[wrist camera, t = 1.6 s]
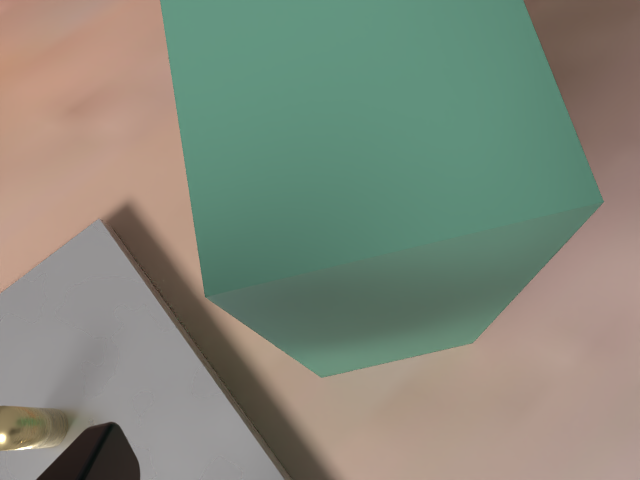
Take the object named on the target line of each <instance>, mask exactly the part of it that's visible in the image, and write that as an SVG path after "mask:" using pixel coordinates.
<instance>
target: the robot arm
mask: <svg viewBox="0 0 640 480" xmlns="http://www.w3.org/2000/svg"><path fill="white" fill-rule="evenodd" d="M36 480H140V465H139V462H138V459H137V457H136V455H135V453H134V451H133V449H132V447H131V445H130V444H129V442H128V440H127V438H126V436H125V434H124V432H123V430H122V429H121V427H120V426H119V425H118V424H117V423H115V422H107V423H102V424H98V425H94V426H90V427H88V428H86V429H85V430H84V431H83V432H82V433H81V434H80V435H79V436H78V437H77V438H76V439H75V440H74V441H73V442H72V443H71V444H70V445H69V446H68V447H67V448H66V449H65V450H64V451H63V452H62V453H61V454H60V455H59V456H58V457H57V458H56V459H55V461H54V462H53V463H52V464H51V465H50V466H49V467H48V468H47V469H46V470H45V471H44V472H43V473H42V474H41V475H40V476H39V477H38V478H37V479H36Z"/></svg>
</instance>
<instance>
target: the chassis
mask: <svg viewBox="0 0 640 480" xmlns="http://www.w3.org/2000/svg"><path fill="white" fill-rule="evenodd" d="M107 422H115V423H117V424H118V425H119V426H120V427H121V429H122V430H123V432H124V434H125V436H126V438H127V440H128V442H129V444H130V445H131V447H132V449H133V451H134V453H135V455H136V457H137V459H138V462H139V465H140V480H292V479H291V477H290V476H289V475H288V473H287V472H286V470H285V469H284V468H283V466H282V465H281V463H280V462H279V461H278V459H277V458H276V456H275V455H274V454H273V452H272V451H271V449H270V448H269V447H268V445H267V444H266V442H265V441H264V440H263V438H262V437H261V435H260V434H259V433H258V431H257V430H256V428H255V427H254V426H253V424H252V423H251V421H250V420H249V419H248V417H247V416H246V414H245V413H244V412H243V410H242V409H241V407H240V406H239V405H238V403H237V402H236V400H235V399H234V398H233V396H232V395H231V393H230V392H229V391H228V389H227V388H226V386H225V385H224V384H223V382H222V381H221V379H220V378H219V377H218V375H217V374H216V372H215V371H214V370H213V368H212V367H211V365H210V364H209V363H208V361H207V360H206V358H205V357H204V356H203V354H202V353H201V351H200V350H199V349H198V347H197V346H196V344H195V343H194V342H193V340H192V339H191V337H190V336H189V335H188V333H187V332H186V330H185V329H184V328H183V326H182V325H181V323H180V322H179V321H178V319H177V318H176V316H175V315H174V314H173V312H172V311H171V309H170V308H169V307H168V305H167V304H166V302H165V301H164V300H163V298H162V297H161V295H160V294H159V293H158V291H157V290H156V288H155V287H154V286H153V284H152V283H151V281H150V280H149V279H148V277H147V276H146V275H145V273H144V272H143V270H142V269H141V268H140V266H139V265H138V263H137V262H136V261H135V259H134V258H133V256H132V255H131V254H130V252H129V251H128V249H127V248H126V247H125V245H124V244H123V242H122V241H121V240H120V238H119V237H118V235H117V234H116V233H115V231H114V230H113V228H112V227H110V226H109V225H108V224H106V223H105V222H103V221H102V220H101V219H98V220H96V221H95V222H94V223H92V224H91V225H90V226H88V227H87V228H86V229H85V230H83V231H82V232H81V233H79V234H78V235H77V236H75V237H74V238H73V239H71V240H70V241H69V242H67V243H66V244H65V245H64V246H62V247H61V248H60V249H58V250H57V251H56V252H54V253H53V254H52V255H50V256H49V257H48V258H46V259H45V260H44V261H43V262H41V263H40V264H39V265H37V266H36V267H35V268H33V269H32V270H31V271H29V272H28V273H27V274H26V275H24V276H23V277H22V278H20V279H19V280H18V281H16V282H15V283H14V284H12V285H11V286H10V287H8V288H7V289H6V290H5V291H3V292H2V293H1V294H0V480H36V479H37V478H38V477H39V476H40V475H41V474H42V473H43V472H44V471H45V470H46V469H47V468H48V467H49V466H50V465H51V464H52V463H53V462H54V461H55V459H56V458H57V457H58V456H59V455H60V454H61V453H62V452H63V451H64V450H65V449H66V448H67V447H68V446H69V445H70V444H71V443H72V442H73V441H74V440H75V439H76V438H77V437H78V436H79V435H80V434H81V433H82V432H83V431H84V430H85V429H86V428H88V427H90V426H94V425H98V424H102V423H107Z"/></svg>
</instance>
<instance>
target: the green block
mask: <svg viewBox="0 0 640 480" xmlns="http://www.w3.org/2000/svg"><path fill="white" fill-rule="evenodd" d="M160 2H161V9H162V15H163V22H164V29H165V35H166V42H167V49H168V55H169V62H170V68H171V75H172V82H173V88H174V95H175V101H176V108H177V115H178V121H179V128H180V134H181V141H182V148H183V154H184V161H185V168H186V174H187V181H188V187H189V194H190V201H191V207H192V214H193V220H194V227H195V234H196V240H197V247H198V253H199V260H200V267H201V273H202V280H203V287H204V293H205V297H206V298H207V299H209V300H210V301H212V302H213V303H214V304H216V305H217V306H219V307H220V308H222V309H223V310H225V311H226V312H227V313H229V314H230V315H232V316H233V317H235V318H236V319H238V320H239V321H240V322H242V323H243V324H245V325H246V326H248V327H249V328H250V329H252V330H253V331H255V332H256V333H258V334H259V335H261V336H262V337H263V338H265V339H266V340H268V341H269V342H271V343H272V344H274V345H275V346H276V347H278V348H279V349H281V350H282V351H284V352H285V353H287V354H288V355H289V356H291V357H292V358H294V359H295V360H297V361H298V362H300V363H301V364H302V365H304V366H305V367H307V368H308V369H310V370H311V371H313V372H314V373H315V374H317V375H318V376H320V377H321V378H323V377H327V376H331V375H336V374H340V373H344V372H349V371H353V370H357V369H362V368H366V367H371V366H375V365H379V364H384V363H388V362H392V361H397V360H401V359H405V358H410V357H414V356H418V355H423V354H427V353H432V352H436V351H440V350H445V349H449V348H453V347H458V346H462V345H466V344H471V343H473V342H474V341H475V340H476V339H477V338H478V337H479V336H480V335H481V334H482V332H483V331H484V330H485V329H486V328H487V327H488V326H489V325H490V324H491V323H492V322H493V321H494V320H495V318H496V317H497V316H498V315H499V314H500V313H501V312H502V311H503V310H504V309H505V308H506V307H507V306H508V305H509V303H510V302H511V301H512V300H513V299H514V298H515V297H516V296H517V295H518V294H519V293H520V292H521V291H522V289H523V288H524V287H525V286H526V285H527V284H528V283H529V282H530V281H531V280H532V279H533V278H534V277H535V275H536V274H537V273H538V272H539V271H540V270H541V269H542V268H543V267H544V266H545V265H546V264H547V263H548V261H549V260H550V259H551V258H552V257H553V256H554V255H555V254H556V253H557V252H558V251H559V250H560V249H561V247H562V246H563V245H564V244H565V243H566V242H567V241H568V240H569V239H570V238H571V237H572V236H573V235H574V234H575V232H576V231H577V230H578V229H579V228H580V227H581V226H582V225H583V224H584V223H585V222H586V221H587V220H588V218H589V217H590V216H591V215H592V214H593V213H594V212H595V211H596V210H597V209H598V208H599V207H600V206H601V204H602V203H603V202H604V201H603V199H602V196H601V194H600V191H599V189H598V186H597V184H596V181H595V179H594V176H593V174H592V171H591V169H590V166H589V164H588V161H587V159H586V156H585V154H584V151H583V149H582V146H581V144H580V141H579V139H578V136H577V134H576V131H575V129H574V126H573V124H572V121H571V119H570V116H569V114H568V111H567V109H566V106H565V104H564V101H563V99H562V96H561V94H560V91H559V89H558V86H557V84H556V81H555V79H554V76H553V74H552V71H551V69H550V66H549V64H548V61H547V59H546V56H545V54H544V51H543V49H542V46H541V44H540V41H539V39H538V36H537V34H536V31H535V29H534V26H533V24H532V21H531V19H530V16H529V14H528V11H527V9H526V6H525V4H524V1H523V0H160Z"/></svg>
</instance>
